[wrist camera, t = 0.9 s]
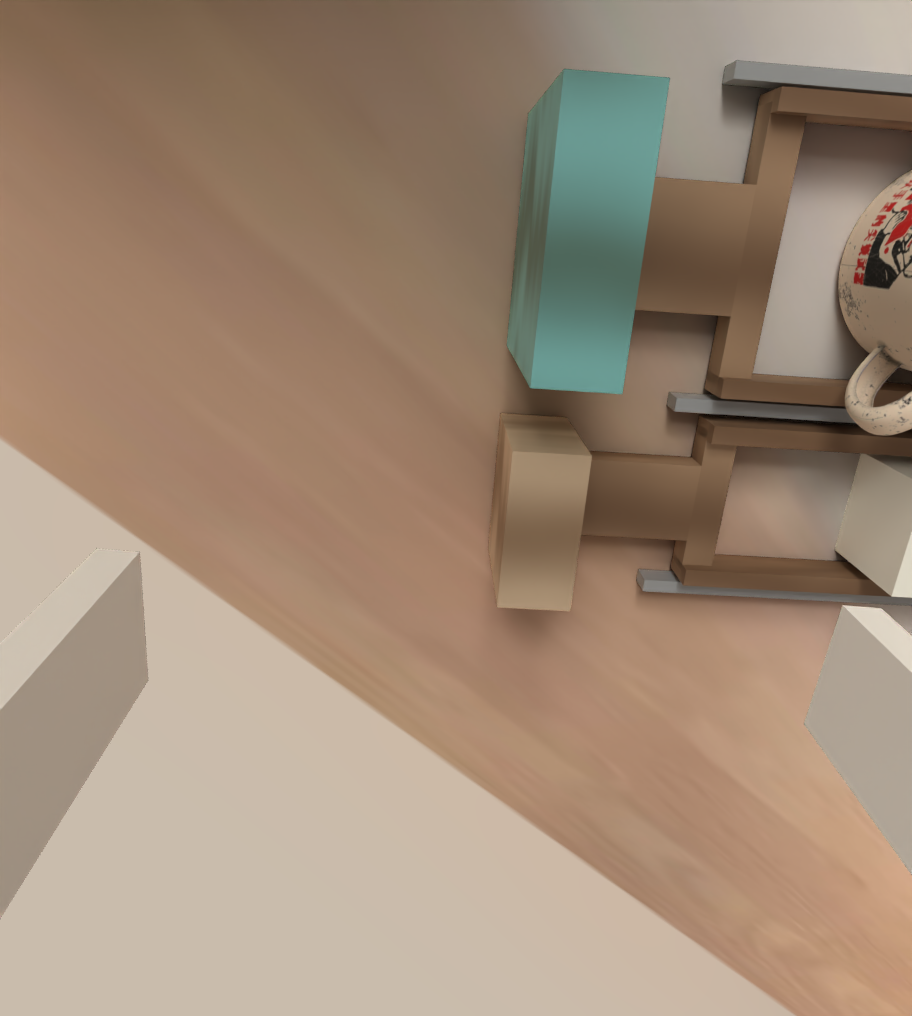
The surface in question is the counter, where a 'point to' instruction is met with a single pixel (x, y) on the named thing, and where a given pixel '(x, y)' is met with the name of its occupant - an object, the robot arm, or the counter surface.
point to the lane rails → (711, 404)
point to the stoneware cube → (880, 522)
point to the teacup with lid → (880, 305)
